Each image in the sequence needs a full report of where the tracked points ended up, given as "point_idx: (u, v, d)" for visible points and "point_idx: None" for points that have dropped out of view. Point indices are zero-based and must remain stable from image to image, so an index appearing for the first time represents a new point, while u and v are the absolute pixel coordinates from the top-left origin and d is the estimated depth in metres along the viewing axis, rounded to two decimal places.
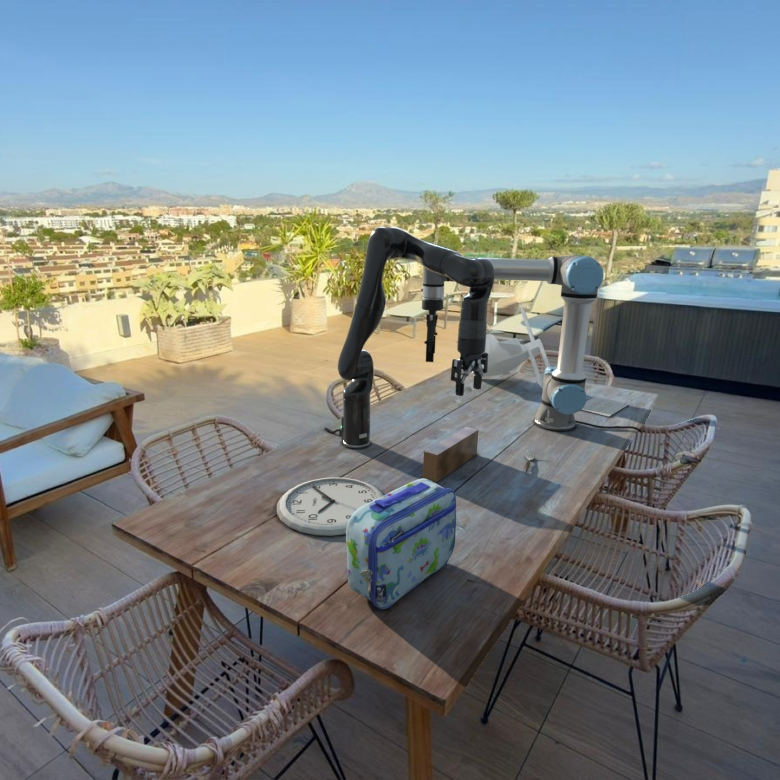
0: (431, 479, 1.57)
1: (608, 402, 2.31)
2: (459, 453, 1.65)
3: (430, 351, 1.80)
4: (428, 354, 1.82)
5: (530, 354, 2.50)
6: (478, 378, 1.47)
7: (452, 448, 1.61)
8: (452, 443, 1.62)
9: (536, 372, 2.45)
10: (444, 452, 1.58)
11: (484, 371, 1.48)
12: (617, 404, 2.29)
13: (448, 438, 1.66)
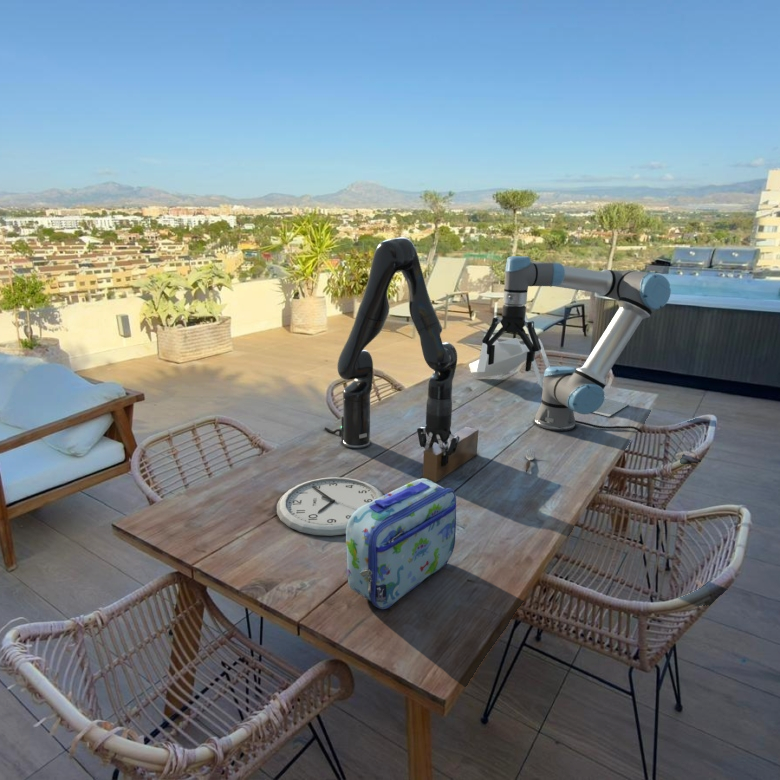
0: (431, 479, 1.57)
1: (608, 402, 2.31)
2: (459, 453, 1.65)
3: (533, 359, 1.72)
4: (529, 363, 1.73)
5: None
6: None
7: None
8: None
9: (536, 372, 2.45)
10: None
11: None
12: (617, 404, 2.29)
13: None
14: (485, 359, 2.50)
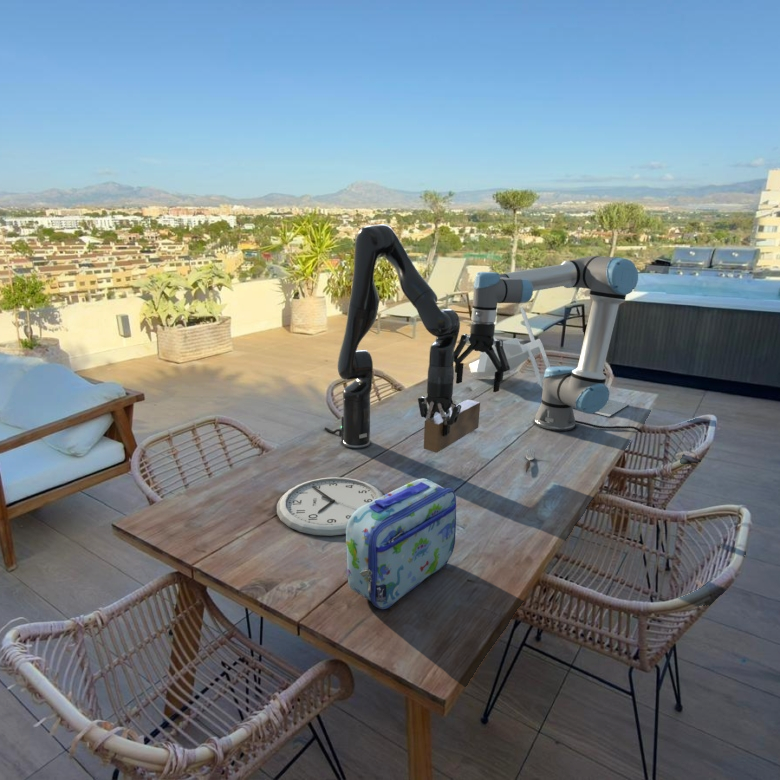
0: (432, 449, 1.54)
1: (608, 402, 2.31)
2: (460, 424, 1.63)
3: (501, 379, 1.65)
4: (497, 384, 1.65)
5: (530, 354, 2.50)
6: None
7: None
8: None
9: (536, 372, 2.45)
10: None
11: None
12: (617, 404, 2.29)
13: (449, 409, 1.63)
14: (485, 359, 2.50)
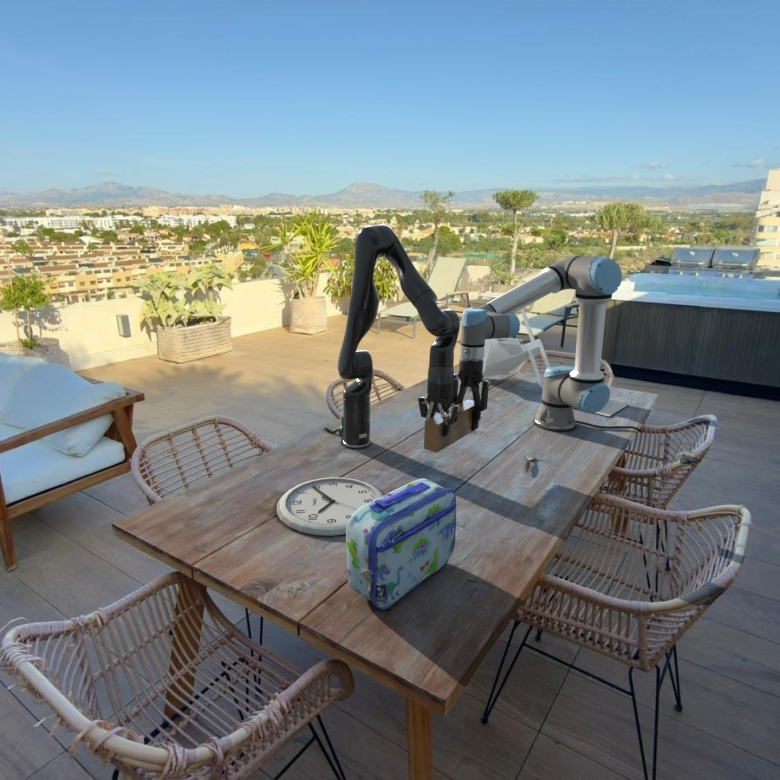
0: (432, 449, 1.54)
1: (608, 402, 2.31)
2: (460, 424, 1.62)
3: (479, 418, 1.68)
4: (475, 422, 1.69)
5: (530, 354, 2.50)
6: None
7: None
8: None
9: (536, 372, 2.45)
10: None
11: (427, 413, 1.58)
12: (617, 404, 2.29)
13: None
14: (485, 359, 2.50)
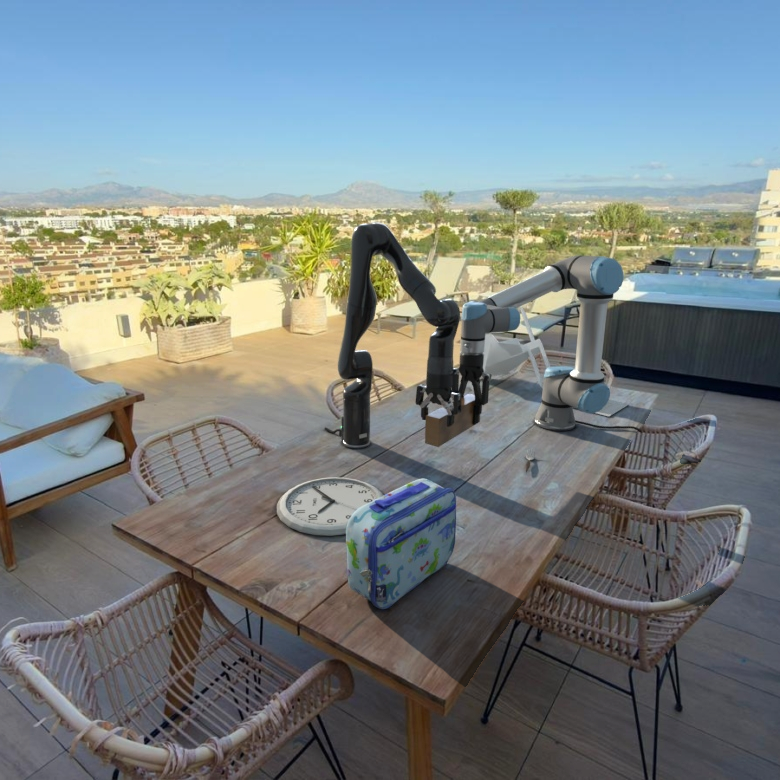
0: (433, 444, 1.54)
1: (608, 402, 2.31)
2: (461, 418, 1.62)
3: (480, 412, 1.68)
4: (476, 416, 1.69)
5: (530, 354, 2.50)
6: (426, 409, 1.56)
7: None
8: None
9: (536, 372, 2.45)
10: None
11: None
12: (617, 404, 2.29)
13: None
14: (485, 359, 2.50)
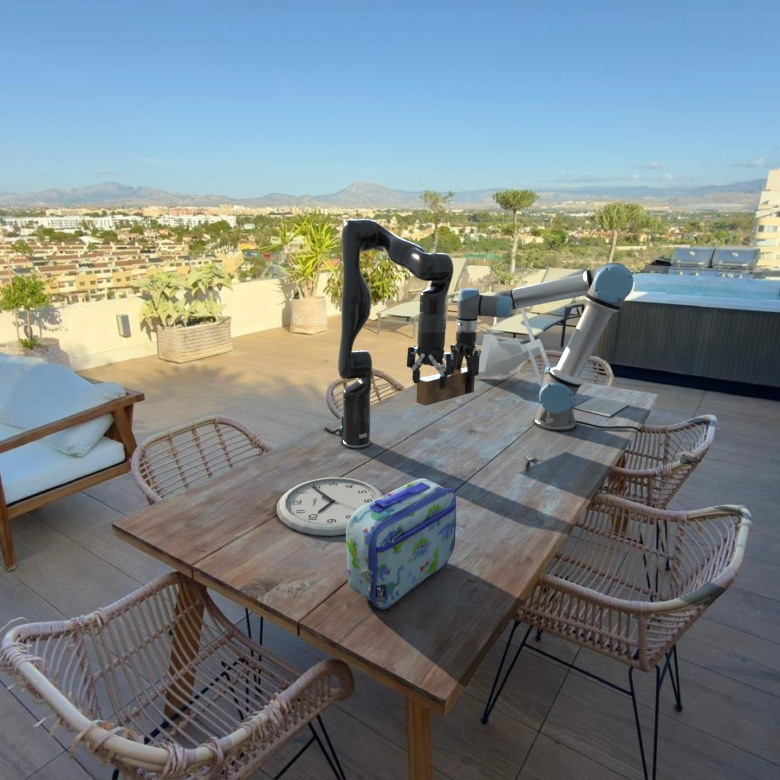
0: (422, 403, 1.86)
1: (608, 402, 2.31)
2: (452, 386, 1.92)
3: (472, 383, 1.97)
4: (468, 386, 1.97)
5: (530, 354, 2.50)
6: (418, 372, 1.49)
7: None
8: None
9: (536, 372, 2.45)
10: (435, 381, 1.86)
11: (414, 364, 1.50)
12: (617, 404, 2.29)
13: None
14: (485, 359, 2.50)
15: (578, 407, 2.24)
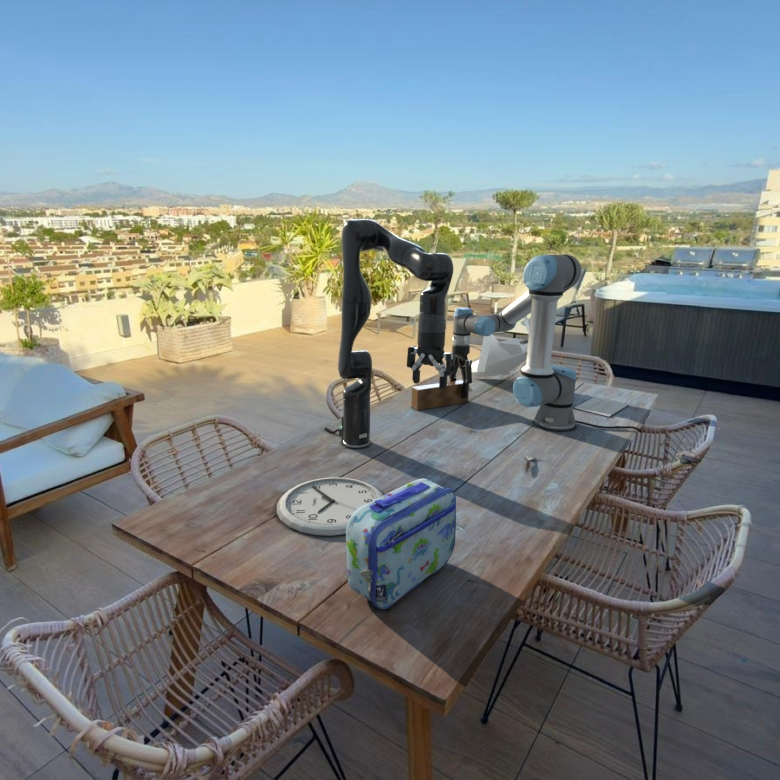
0: (415, 408, 2.19)
1: (608, 402, 2.31)
2: (444, 395, 2.22)
3: (467, 389, 2.23)
4: (463, 392, 2.24)
5: None
6: (418, 372, 1.49)
7: (436, 389, 2.20)
8: (438, 386, 2.21)
9: None
10: (427, 390, 2.17)
11: (414, 364, 1.50)
12: (617, 404, 2.29)
13: None
14: (485, 359, 2.50)
15: (578, 407, 2.24)
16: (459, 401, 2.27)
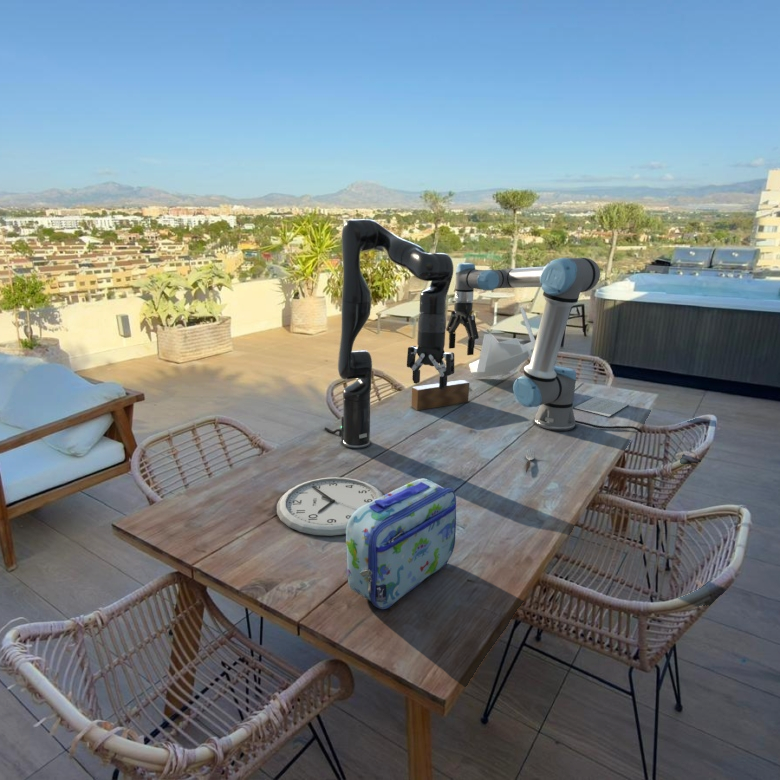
0: (415, 408, 2.19)
1: (608, 402, 2.31)
2: (444, 395, 2.22)
3: (473, 346, 2.15)
4: (470, 349, 2.16)
5: (530, 354, 2.50)
6: (418, 372, 1.49)
7: (436, 389, 2.20)
8: (438, 386, 2.21)
9: None
10: (427, 390, 2.17)
11: (414, 364, 1.50)
12: (617, 404, 2.29)
13: None
14: (485, 359, 2.50)
15: (578, 407, 2.24)
16: (459, 401, 2.27)
